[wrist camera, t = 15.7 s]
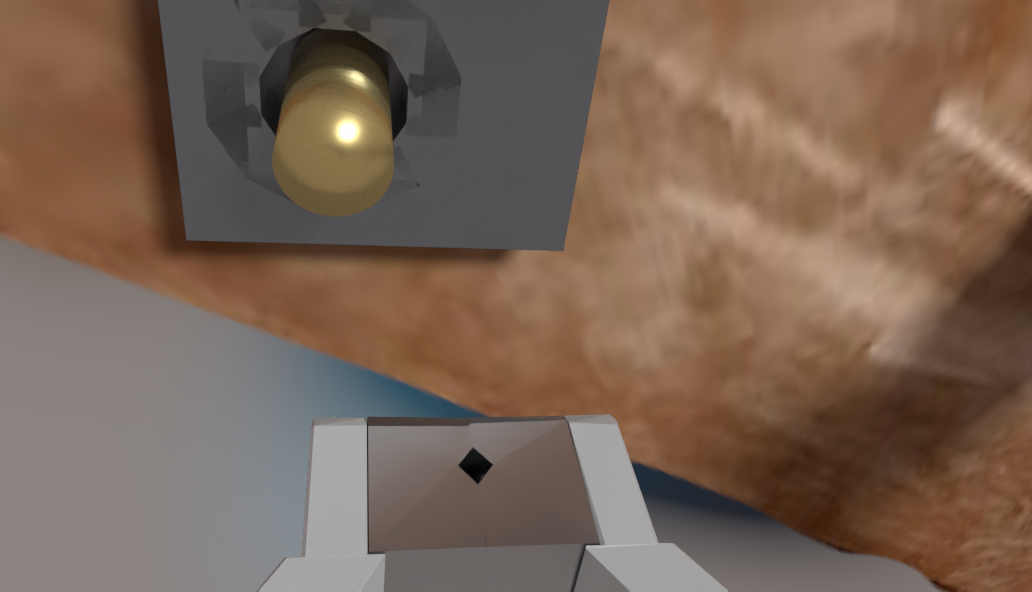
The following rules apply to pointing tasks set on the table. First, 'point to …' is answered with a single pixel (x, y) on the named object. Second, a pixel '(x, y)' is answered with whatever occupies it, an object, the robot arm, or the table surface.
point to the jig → (414, 114)
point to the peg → (335, 125)
